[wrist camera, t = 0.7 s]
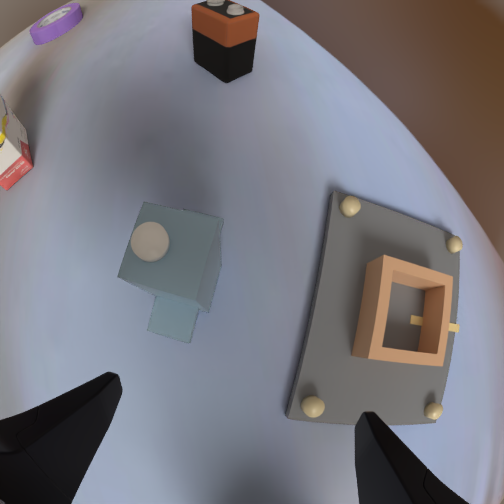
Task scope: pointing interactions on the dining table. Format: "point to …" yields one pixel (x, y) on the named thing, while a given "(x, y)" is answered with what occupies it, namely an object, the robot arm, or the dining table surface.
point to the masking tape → (56, 23)
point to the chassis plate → (378, 319)
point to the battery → (224, 38)
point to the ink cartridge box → (12, 147)
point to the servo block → (174, 266)
